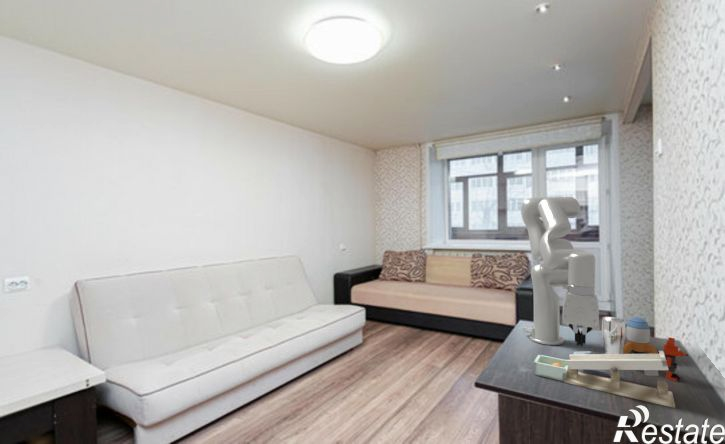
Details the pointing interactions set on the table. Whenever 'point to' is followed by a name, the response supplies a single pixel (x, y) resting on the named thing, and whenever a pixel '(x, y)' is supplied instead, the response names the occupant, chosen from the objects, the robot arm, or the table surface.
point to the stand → (622, 387)
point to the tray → (550, 367)
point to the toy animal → (672, 358)
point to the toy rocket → (638, 337)
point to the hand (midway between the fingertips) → (580, 344)
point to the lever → (619, 362)
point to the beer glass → (613, 335)
